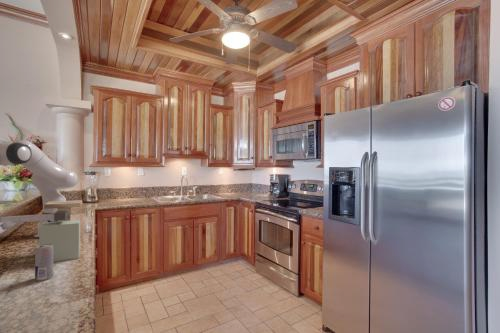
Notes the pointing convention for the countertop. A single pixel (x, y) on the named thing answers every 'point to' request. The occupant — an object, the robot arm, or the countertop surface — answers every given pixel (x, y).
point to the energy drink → (43, 262)
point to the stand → (64, 208)
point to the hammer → (37, 217)
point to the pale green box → (61, 239)
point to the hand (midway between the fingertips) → (19, 217)
